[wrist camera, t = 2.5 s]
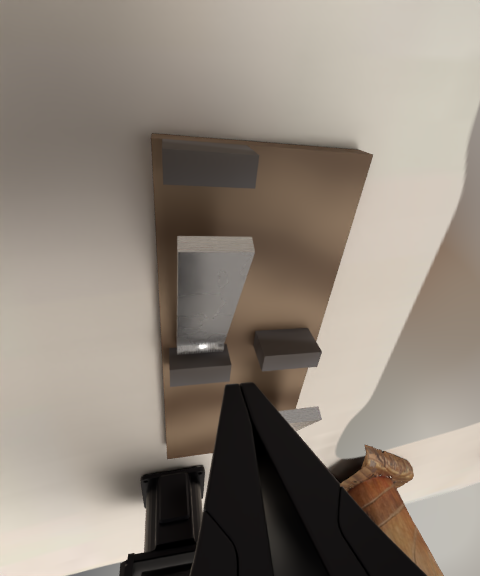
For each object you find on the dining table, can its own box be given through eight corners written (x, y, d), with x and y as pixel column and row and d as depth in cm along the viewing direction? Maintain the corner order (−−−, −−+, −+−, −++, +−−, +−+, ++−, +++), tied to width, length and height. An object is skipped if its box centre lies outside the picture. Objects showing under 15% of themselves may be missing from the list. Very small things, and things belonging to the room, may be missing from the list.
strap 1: (274, 427, 30) (277, 443, 29) (243, 431, 29) (246, 448, 28) (317, 401, 21) (323, 424, 20) (274, 406, 20) (278, 430, 19)
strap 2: (220, 335, 22) (222, 354, 21) (176, 337, 21) (177, 357, 20) (250, 231, 13) (256, 258, 12) (177, 230, 12) (178, 258, 12)
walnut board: (280, 428, 32) (293, 467, 29) (167, 443, 30) (167, 488, 27) (358, 149, 18) (401, 165, 15) (152, 133, 15) (148, 147, 12)
